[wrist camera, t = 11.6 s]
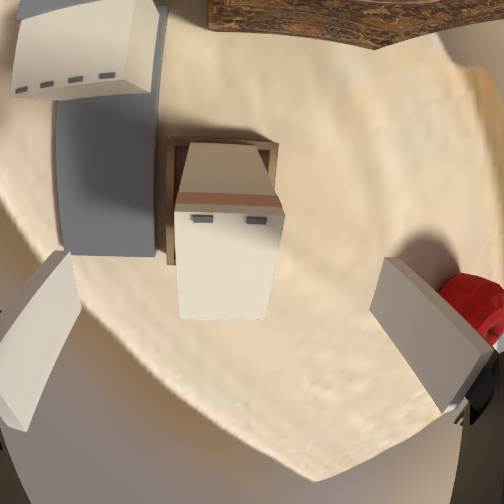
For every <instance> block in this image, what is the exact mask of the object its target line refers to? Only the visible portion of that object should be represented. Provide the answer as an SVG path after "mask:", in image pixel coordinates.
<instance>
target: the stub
mask: <svg viewBox="0 0 504 504" xmlns="http://www.w3.org/2000/svg"><path fill="white" fill-rule="evenodd" d="M284 219H285V214H284V211H283V209H282V205H281V202H280V200H279V198H278V196H277V194H276V192H275V189H274V187H273V185H272V182H271V180H270V177H269V175H268V173H267V170H266V168H265V166H264V163H263V161H262V159H261V156H260V154H259V152H258V149H257V147H256V145H241V144H222V143H194V142H190V146H189V150H188V154H187V158H186V162H185V166H184V170H183V174H182V179H181V183H180V187H179V192H178V194H177V199H176V205H175V210H174V224H175V252H176V272H177V288H178V302H179V315H180V319H265V316H266V311H267V306H268V301H269V296H270V291H271V286H272V281H273V276H274V271H275V266H276V261H277V256H278V251H279V245H280V240H281V235H282V230H283V224H284Z"/></svg>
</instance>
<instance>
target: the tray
mask: <svg viewBox="0 0 504 504" xmlns="http://www.w3.org/2000/svg"><path fill="white" fill-rule="evenodd" d="M190 142H194V143H222V144H241V145H256V147H257V149H258V152H259V154H260V156H261V159H262V161H263V163H264V166H265V168H266V170H267V173H268V175H269V177H270V180H271V182H272V185H273V187H275V177H276V167H277V157H278V146H279V143H275V142H268V141H256V140H242V139H224V138H197V137H169V138H167V159H166V254H167V265H176V252H175V224H174V210H175V205H176V199H177V194H178V192H179V187H180V183H181V179H182V174H183V170H184V166H185V162H186V158H187V154H188V150H189V146H190Z"/></svg>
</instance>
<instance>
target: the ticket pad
mask: <svg viewBox="0 0 504 504" xmlns="http://www.w3.org/2000/svg"><path fill="white" fill-rule="evenodd" d="M16 19H17V20H19V21H21V25H20V29H19V34H18V40H17V45H16V51H15V58H14V65H13V73H12V82H11V93H10V98H31V99H47V100H59V101H64V100H71V99H78V98H87V97H96V96H107V95H120V94H137V93H151V81H152V71H153V61H154V52H155V44H156V36H157V29H158V22H159V13H158V11H157V9H156V7H155V4H154V2H153V0H20V4H19V8H18V12H17V16H16Z"/></svg>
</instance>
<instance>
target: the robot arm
mask: <svg viewBox="0 0 504 504" xmlns="http://www.w3.org/2000/svg"><path fill="white" fill-rule="evenodd" d="M81 309H82V308H81V304H80V299H79V295H78V290H77V285H76V280H75V275H74V269H73V264H72V258H71V252H70V251H54V252H53V253H52V254H51V255H50V256H49V257H48V258H47V259H46V260H45V261H44V263H43V264H42V265H41V266H40V267H39V268H38V269H37V270H36V271H35V273H34V274H33V275H32V276H31V277H30V278H29V279H28V280H27V282H26V283H25V284H24V285H23V286H22V287H21V289H20V290H19V291H18V292H17V293H16V295H15V296H14V297H13V298H12V300H11V301H10V302H9V303H8V304H7V306H6V307H5V308H4V309H3V311H1V310H0V416H1V417H2V419H3V420H4V422H5V423H6V424H7V426H9V427H12V428H15V429H18V430H21V431H24V432H27V430H28V427H29V424H30V422H31V419H32V416H33V413H34V411H35V408H36V406H37V403H38V401H39V398H40V396H41V394H42V391H43V388H44V386H45V384H46V382H47V379H48V377H49V375H50V373H51V370H52V368H53V366H54V364H55V361H56V359H57V357H58V355H59V353H60V351H61V349H62V347H63V345H64V342H65V340H66V338H67V336H68V334H69V332H70V330H71V328H72V326H73V324H74V323H75V320H76V319H77V317H78V315H79V313H80V311H81ZM369 310H370V311H371V313H372V314H373V315H374V317H375V318H376V319H377V321H378V322H379V323H380V325H381V326H382V328H383V329H384V330H385V332H386V333H387V334H388V336H389V337H390V339H391V340H392V341H393V343H394V344H395V346H396V347H397V348H398V350H399V351H400V353H401V354H402V355H403V357H404V358H405V360H406V361H407V363H408V364H409V365H410V367H411V368H412V370H413V371H414V373H415V374H416V376H417V377H418V378H419V380H420V381H421V383H422V384H423V386H424V387H425V389H426V390H427V392H428V393H429V395H430V396H431V398H432V399H433V401H434V402H435V404H436V405H437V407H438V408H439V410H440V412H441V413H442V414H443V413H446V412H449V411H451V410H453V409H456V408H457V407H458V405H459V404H460V403H461V401H462V400H463V399H464V397H466V399H467V400H468V401H469V402H468V403H467V405H466V406H465V407H464V409H463V410H462V411H461V413H460V414H459V415H458V417H457V418H456V419H455V422H454V423H455V424H457V422H458V421H459V420H460V419H461V418H463V417H464V418H463V421H462V422H461V423H460V425H462V426H463V429H462V439H461V446H460V453H459V460H458V466H457V472H456V477H455V482H454V487H453V492H452V496H451V500H450V504H504V352H501V353H500V354H499V353H498V352H497V351H496V350H495V349H494V348H493V346H492V345H491V344H490V343H489V342H488V341H487V340H486V339H485V338H484V337H483V336H482V335H481V334H480V333H479V332H477V330H476V329H475V328H474V327H473V326H471V324H470V323H469V322H468V321H467V320H466V319H465V318H464V317H463V316H462V315H460V314H459V313H458V312H457V311H456V310H455V309H454V308H453V307H452V306H451V305H450V304H449V303H448V302H447V301H445V300H444V299H443V298H442V297H441V296H440V295H439V294H438V293H437V292H436V291H435V290H434V289H433V288H432V287H431V286H429V285H428V284H427V283H426V282H425V281H424V280H423V279H422V278H421V277H420V276H418V275H417V274H416V273H415V272H414V271H413V270H412V269H411V268H410V267H408V266H407V265H406V264H405V263H404V262H403V261H402V260H400V259H399V258H392V257H385V258H384V262H383V265H382V269H381V273H380V276H379V280H378V283H377V287H376V290H375V293H374V297H373V300H372V303H371V306H370V309H369ZM0 504H31V502H30V500H29V499H28V496H27V494H26V492H25V490H24V488H23V486H22V484H21V482H20V479H19V477H18V475H17V472H16V470H15V468H14V465H13V463H12V460H11V457H10V455H9V452H8V449H7V447H6V444H5V441H4V438H3V436H2V432H1V429H0Z"/></svg>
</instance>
